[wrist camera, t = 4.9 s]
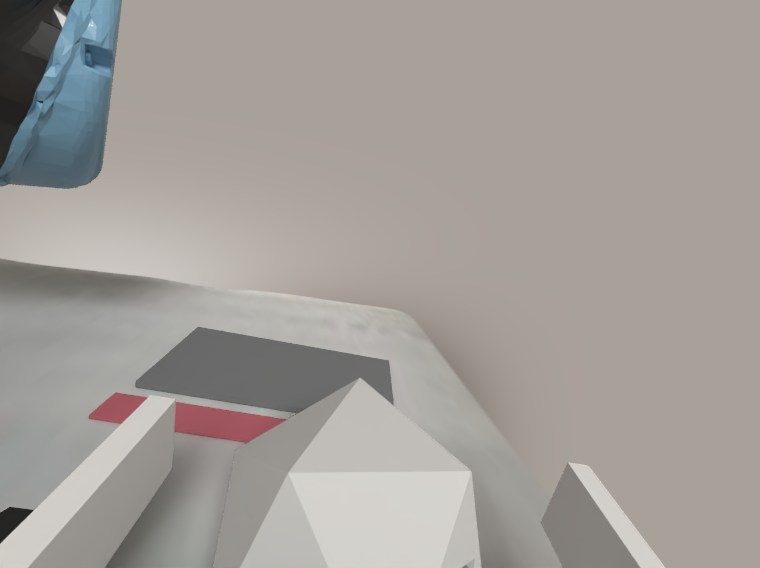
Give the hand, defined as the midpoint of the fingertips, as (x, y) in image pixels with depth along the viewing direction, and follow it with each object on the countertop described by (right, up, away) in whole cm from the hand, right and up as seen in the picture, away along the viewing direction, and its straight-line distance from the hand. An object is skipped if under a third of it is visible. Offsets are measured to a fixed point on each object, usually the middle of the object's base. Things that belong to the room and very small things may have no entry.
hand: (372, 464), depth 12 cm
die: (-2, -6, +1) cm, 6 cm away
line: (-7, -2, +8) cm, 11 cm away
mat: (-7, -1, +14) cm, 16 cm away
